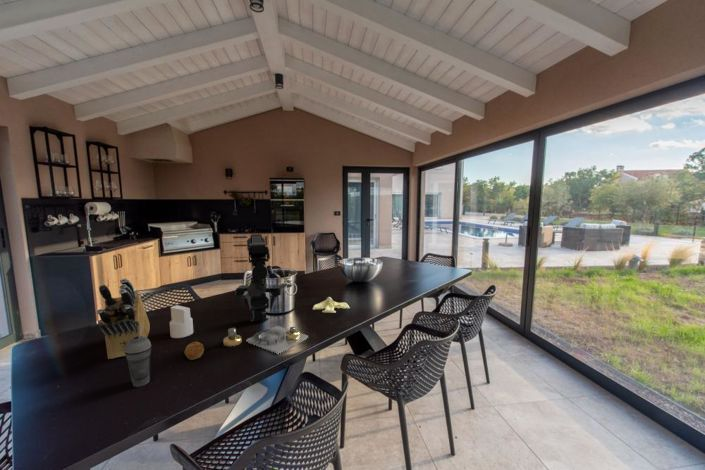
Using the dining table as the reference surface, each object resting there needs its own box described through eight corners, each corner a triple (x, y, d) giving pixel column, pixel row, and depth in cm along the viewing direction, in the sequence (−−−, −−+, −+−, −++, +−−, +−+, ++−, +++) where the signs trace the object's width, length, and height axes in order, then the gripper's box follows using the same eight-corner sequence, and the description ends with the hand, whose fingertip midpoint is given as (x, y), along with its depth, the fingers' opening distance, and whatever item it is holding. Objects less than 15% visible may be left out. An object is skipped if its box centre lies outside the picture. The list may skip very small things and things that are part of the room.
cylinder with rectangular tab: (197, 331, 141) (196, 305, 139) (179, 339, 133) (177, 312, 131) (184, 328, 145) (182, 303, 143) (165, 335, 136) (163, 309, 135)
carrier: (246, 342, 130) (246, 330, 129) (277, 328, 144) (277, 317, 143) (278, 354, 119) (277, 341, 118) (308, 338, 133) (307, 326, 132)
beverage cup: (136, 376, 105) (131, 319, 102) (159, 375, 105) (154, 319, 103) (122, 390, 97) (116, 329, 95) (146, 388, 98) (141, 328, 96)
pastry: (206, 358, 117) (205, 348, 117) (185, 363, 114) (185, 353, 113) (203, 348, 125) (202, 339, 125) (184, 352, 122) (183, 343, 121)
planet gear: (220, 344, 128) (219, 330, 128) (234, 337, 134) (234, 324, 133) (230, 348, 124) (229, 334, 124) (245, 342, 130) (244, 328, 130)
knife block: (99, 373, 107) (90, 286, 104) (120, 334, 138) (114, 266, 135) (138, 365, 112) (131, 281, 109) (150, 329, 143) (145, 263, 140)
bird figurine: (355, 306, 174) (354, 295, 173) (333, 316, 159) (333, 305, 158) (325, 299, 187) (325, 289, 186) (302, 307, 172) (302, 297, 171)
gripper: (228, 279, 121) (230, 317, 123) (276, 278, 121) (277, 317, 123) (239, 272, 132) (241, 307, 134) (283, 272, 132) (284, 307, 134)
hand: (260, 310), depth 131 cm, fingers open, 9 cm apart
